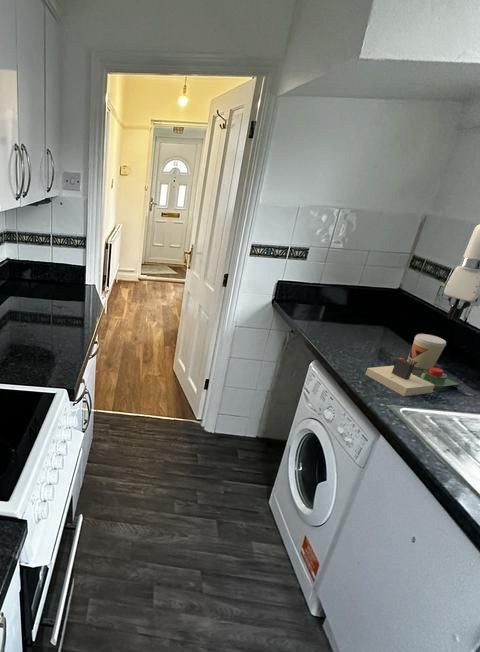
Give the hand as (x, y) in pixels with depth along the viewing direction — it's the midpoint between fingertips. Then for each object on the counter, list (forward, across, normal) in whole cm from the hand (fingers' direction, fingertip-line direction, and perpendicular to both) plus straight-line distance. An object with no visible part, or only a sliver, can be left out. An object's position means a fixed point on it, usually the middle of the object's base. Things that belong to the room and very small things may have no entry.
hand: (452, 318), depth 139 cm
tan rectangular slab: (+22, -2, +17) cm, 28 cm away
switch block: (+22, -4, +4) cm, 23 cm away
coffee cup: (+22, +7, -4) cm, 24 cm away
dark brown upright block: (+19, -2, +17) cm, 26 cm away
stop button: (+18, -4, +4) cm, 19 cm away
